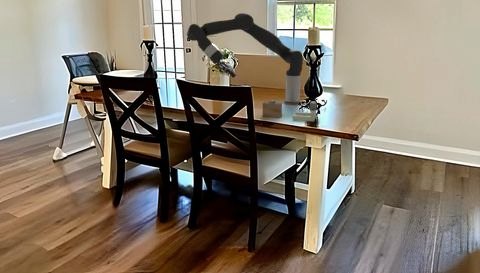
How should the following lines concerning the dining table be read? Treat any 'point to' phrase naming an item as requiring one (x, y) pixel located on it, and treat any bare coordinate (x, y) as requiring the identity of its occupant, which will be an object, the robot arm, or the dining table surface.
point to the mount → (305, 116)
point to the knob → (313, 105)
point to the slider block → (272, 109)
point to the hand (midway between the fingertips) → (234, 76)
